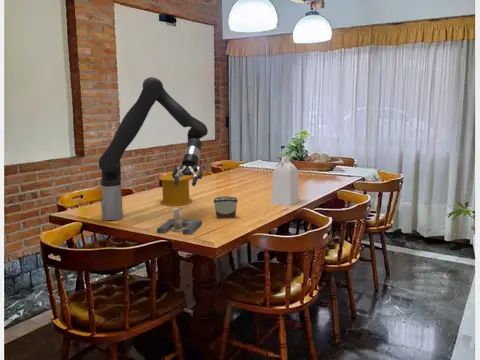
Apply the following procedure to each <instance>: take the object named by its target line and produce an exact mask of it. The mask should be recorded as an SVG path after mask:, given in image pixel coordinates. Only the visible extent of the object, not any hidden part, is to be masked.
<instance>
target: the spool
mask: <svg viewBox="0 0 480 360" xmlns="http://www.w3.org/2000/svg"><path fill="white" fill-rule="evenodd" d="M158 179H159V180H160V181H161V186H162V187H161V189H162V200H161V201H160V202H159V203H160V205H162V206H165V205H166V207H180V206H187V205H189V204H193V200H192V199H191V198H190V184H189V183H190V180H191V179H192V175H191V176H189V175H186V176H185V175H184V176H182V177H180V178H179V181H178V185H177V186H176V185H175V184H174V180H175V178H173V176H172V174H168V175H163V176H160V177H159V178H158Z"/></svg>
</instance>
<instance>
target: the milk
mask: <svg viewBox="0 0 480 360" xmlns="http://www.w3.org/2000/svg"><path fill="white" fill-rule="evenodd" d="M271 184H272V186H271V202H270V203H271V205H276V204H279V205H278V206H285V205H287V207H291V206H293V205H295V204H297V203H299V202H300V195H299V193H300V192H299V170H298V168H297V167H296V166H295V165H294V164H293V163H292V162H291V160H290V157H289V156H287V155H286V156H283V157H281V163H279V165H278V166H276V167H275V169H274V170H273V171H272V183H271Z"/></svg>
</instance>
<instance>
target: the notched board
mask: <svg viewBox="0 0 480 360" xmlns="http://www.w3.org/2000/svg"><path fill="white" fill-rule="evenodd" d="M202 225H203V220H201V219H183V218H182V227H184V229H183V231H182V234H183V235H193V234H194V233H195V232H196V231H197V230H198V229H199V228H200V227H201V226H202ZM172 228H173V218H169V219H167V220H166V221H165V222H163V223H162V224H161V225H159V226H158V227H157V228H156V234H157V233H158V234H166V233H168V232H169V231H170V230H172Z"/></svg>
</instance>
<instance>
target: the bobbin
mask: <svg viewBox="0 0 480 360" xmlns="http://www.w3.org/2000/svg"><path fill="white" fill-rule="evenodd" d="M182 215H183V209H182V208H181V207H174V208H172V219H173V228H171V231H172V232H174V233H180V232H183V229H184V228H185V227H182V219H183V216H182Z"/></svg>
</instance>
